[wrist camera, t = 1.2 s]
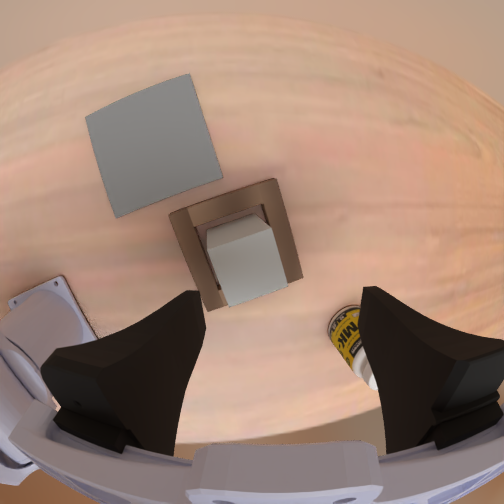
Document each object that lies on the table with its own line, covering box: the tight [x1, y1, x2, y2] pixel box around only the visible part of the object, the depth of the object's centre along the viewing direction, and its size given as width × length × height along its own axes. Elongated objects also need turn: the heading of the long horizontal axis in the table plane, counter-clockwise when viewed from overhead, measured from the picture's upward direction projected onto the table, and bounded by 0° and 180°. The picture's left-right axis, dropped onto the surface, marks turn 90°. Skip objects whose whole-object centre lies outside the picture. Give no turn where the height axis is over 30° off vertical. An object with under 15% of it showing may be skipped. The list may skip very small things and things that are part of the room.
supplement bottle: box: [328, 306, 378, 390], centre depth 23 cm, size 5×5×8 cm
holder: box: [169, 178, 303, 312], centre depth 22 cm, size 8×8×1 cm
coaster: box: [85, 73, 223, 218], centre depth 18 cm, size 9×9×1 cm
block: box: [207, 214, 288, 307], centre depth 19 cm, size 4×4×6 cm
